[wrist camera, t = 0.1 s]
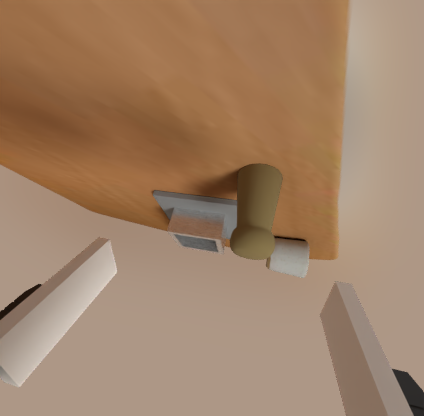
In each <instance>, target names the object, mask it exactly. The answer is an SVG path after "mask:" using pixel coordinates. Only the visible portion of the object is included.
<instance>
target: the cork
mask: <svg viewBox="0 0 424 416" xmlns="http://www.w3.org/2000/svg"><path fill="white" fill-rule="evenodd" d="M282 180H283V178H282V174H281V172H280V171H279V170H278V169H276V168H275V167H272V166H270V165H266V164H251V165H248V166H245V167H243V168H242V169H240V171H239V172H238V176H237V227H236V228H235V229H234V230H233V232H232V234H231V238H230V247H231V250H232V251H233V252H234V253H235V254H236V255H238V256H240V257H244V258H247V259H254V260H262V259H267V258H269V257H270V256H271V255H272V253H273V252H274V249H275V239H274V235H273V234H272V232H271V229H272V225H273V220H274V216H275V211H276V207H277V202H278V198H279V193H280V189H281V184H282Z"/></svg>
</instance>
